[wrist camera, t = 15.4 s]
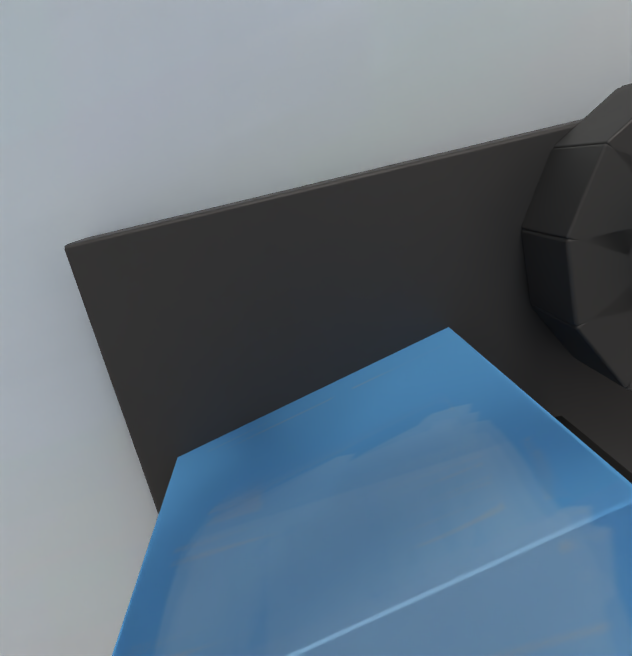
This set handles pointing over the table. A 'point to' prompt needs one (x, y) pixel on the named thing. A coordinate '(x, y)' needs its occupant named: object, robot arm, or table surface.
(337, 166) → the table surface
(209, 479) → the perfume bottle
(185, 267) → the scale
